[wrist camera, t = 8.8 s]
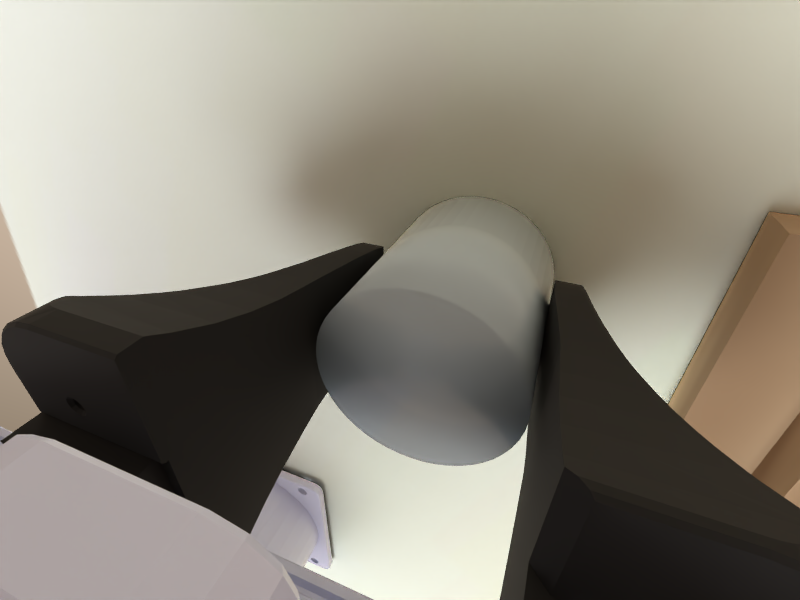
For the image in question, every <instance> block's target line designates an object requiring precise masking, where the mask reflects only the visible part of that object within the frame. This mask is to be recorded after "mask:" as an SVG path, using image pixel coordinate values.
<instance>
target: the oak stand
mask: <svg viewBox="0 0 800 600" xmlns="http://www.w3.org/2000/svg"><path fill="white" fill-rule="evenodd" d="M668 405H669V406H670V407H671V408H672V409H673V410H674V411H675V412H676V413H677V414H678V415H680V416H681V417H682V418H683V419H684V420H685V421H686V422H687V423H688V424H689V425H690V426H692V427H693V428H694V429H695V430H696V431H697V432H698V433H700V434H701V435H702V436H703V437H704V438H706V439H707V440H708V441H709V442H710V443H712V444H713V445H714V446H715V447H716V448H718V449H719V450H720V451H721V452H723V453H724V454H725V455H727V456H728V457H729V458H730V459H732V460H733V461H734V462H736V463H737V464H738V465H740V466H741V467H742V468H743V469H745V470H746V471H747V472H749V473H750V474H751V475H753V476H754V477H755V478H757V479H758V480H760V481H761V482H762V483H764V484H765V485H767V486H768V487H770V488H771V489H773V490H774V491H776V492H777V493H778V494H780V495H781V496H783V497H784V498H786V499H787V500H789V501H790V502H792V503H793V504H795V505H796V506H797V507H799V508H800V216H799V215H791V214H783V213H776V212H769V213H768V215H767V217H766V219H765V221H764V223H763V224H762V226H761V228H760V230H759V232H758V234H757V236H756V238H755V240H754V242H753V243H752V245H751V247H750V249H749V251H748V253H747V255H746V257H745V259H744V261H743V263H742V264H741V266H740V268H739V270H738V272H737V274H736V276H735V278H734V280H733V282H732V284H731V285H730V287H729V289H728V291H727V293H726V295H725V297H724V299H723V301H722V303H721V305H720V306H719V308H718V310H717V312H716V314H715V316H714V318H713V320H712V322H711V324H710V326H709V327H708V329H707V331H706V333H705V335H704V337H703V339H702V341H701V343H700V345H699V347H698V348H697V350H696V352H695V354H694V356H693V358H692V360H691V362H690V364H689V366H688V368H687V369H686V371H685V373H684V375H683V377H682V379H681V381H680V383H679V385H678V387H677V389H676V390H675V392H674V394H673V396H672V398H671V400H670V402H669V404H668Z"/></svg>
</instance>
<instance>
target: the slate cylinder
mask: <svg viewBox="0 0 800 600" xmlns="http://www.w3.org/2000/svg"><path fill="white" fill-rule="evenodd" d="M553 280H554V264H553V258H552V254H551V251H550V248H549V246H548V244H547V242H546V240H545V238H544V236H543V235H542V233H541V232H540V230H539V229H538V228H537V227H536V226H535V225H534V223H533V222H532V221H531V220H529V219H528V218H527V217H526V216H525V215H524V214H522V213H521V212H519V211H518V210H516V209H515V208H513V207H511V206H509V205H507V204H505V203H502V202H499V201H496V200H493V199H489V198H484V197H474V196H469V197H458V198H452V199H449V200H446V201H443V202H440V203H438V204H436V205H434V206H432V207H431V208H429V209H428V210H426V211H425V212H424V213H423V214H422V215H421V216H419V217H418V218H417V219H416V220H415V222H414V223H413V224H412V225H411V226H410V227H409V228H408V229H407V230H406V231H405V232H404V233H403V234H402V235H401V236H400V238H399V239H398V240H397V241H396V242H395V243H394V244H393V245H392V246H391V247H390V248H389V249H388V250H387V251H386V252H385V254H384V255H383V256H382V257H381V258H380V259H379V260H378V261H377V262H376V263H375V264H374V265H373V266H372V267H371V268H370V269H369V271H368V272H367V273H366V274H365V275H364V276H363V277H362V278H361V279H360V280H359V281H358V282H357V283H356V284H355V285H354V287H353V288H352V289H351V290H350V291H349V292H348V293H347V294H346V295H345V296H344V297H343V298H342V299H341V300H340V301H339V303H338V304H337V305H336V306H335V307H334V308H333V309H332V310H331V311H330V312H329V314H328V315H327V316H326V318H325V319H324V321H323V323H322V325H321V327H320V330H319V333H318V336H317V343H316V358H317V364H318V369H319V372H320V375H321V378H322V380H323V383H324V385H325V387H326V389H327V391H328V392H329V394H330V396H331V397H332V399H333V400H334V402H335V403H336V405H337V406H338V407H339V409H340V410H341V411H342V412H343V413H344V414H345V415H346V417H347V418H348V419H349V420H351V421H352V422H353V423H354V424H355V425H356V426H357V427H358V428H359V429H361V430H362V431H363V432H364V433H365V434H367V435H368V436H370V437H371V438H373V439H374V440H376V441H377V442H379V443H381V444H382V445H384V446H386V447H387V448H390V449H392V450H394V451H396V452H398V453H400V454H403V455H405V456H408V457H410V458H414V459H417V460H420V461H424V462H428V463H433V464H440V465H451V466H462V465H473V464H478V463H483V462H486V461H489V460H492V459H494V458H496V457H498V456H500V455H502V454H504V453H505V452H507V451H508V450H509V449H511V448H512V447H513V446H514V445H515V444H516V443H517V442H518V441H519V440H520V438H521V436H522V435H523V433H524V432H525V430H526V427H527V425H528V422H529V418H530V413H531V407H532V401H533V395H534V390H535V384H536V378H537V372H538V367H539V361H540V355H541V349H542V344H543V338H544V332H545V326H546V320H547V314H548V308H549V303H550V298H551V292H552V286H553Z"/></svg>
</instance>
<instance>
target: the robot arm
mask: <svg viewBox="0 0 800 600" xmlns="http://www.w3.org/2000/svg"><path fill="white" fill-rule="evenodd" d="M382 256H383V247H382V246H377V245H372V244H367V243H360V244H355V245H352V246H349V247H345V248H342V249H340V250H337V251H334V252H331V253H328V254H325V255H323V256H320V257H317V258H314V259H311V260H309V261H306V262H303V263H300V264H297V265H293V266H290V267H287V268H284V269H281V270H278V271H275V272H271V273H268V274H264V275H261V276H257V277H253V278H249V279H245V280H240V281H236V282H231V283H226V284H221V285H215V286H208V287H202V288H195V289H189V290H182V291H173V292H163V293H152V294H138V295H116V296H65V297H61V298H58V299H55V300H53V301H51V302H49V303H47V304H45V305H43V306H41V307H39V308H37V309H35V310H33V311H31V312H29V313H27V314H25V315H23V316H21V317H19V318H17V319H15V320H13V321H12V322H9V323H8V324H7V325H6V326H5V327H4V329H3V332H2V346H3V349H4V352H5V355H6V357H7V358H8V360H9V362H10V364H11V366H12V367H13V369H14V371H15V372H16V374H17V375H18V377H19V379H20V380H21V382H22V383H23V385H24V386H25V388H26V390H27V391H28V393H29V394H30V396H31V397H32V399H33V400H34V402H35V404H36V405H37V407H38V408H39V410H40V411H41V413H40V414H39V415H37V416H36V417H35V418H33V419H31V420H30V421H28V422H27V423H26V424H24V425H23V426H21V427H20V428H19V429H17V430H15V431H14V432H11V431H9V430H7V429H5V428H3V427H1V426H0V600H373V599H371V598H369V597H367V596H365V595H362V594H360V593H358V592H356V591H354V590H352V589H349V588H347V587H345V586H343V585H341V584H339V583H337V582H334V581H332V580H330V579H328V578H326V577H324V576H321V575H319V574H317V573H315V572H313V571H311V570H309V569H306V568H304V566H305V564H306V562H307V561H309V562H311V563H313V564H316V565H318V566H320V567H322V568H325V569H328V568H330V566H331V564H332V555H331V548H330V540H329V533H328V525H327V517H326V510H325V502H324V495H323V490H322V488H321V487H320V486H319V485H317V484H315V483H313V482H311V481H308V480H306V479H303V478H301V477H298V476H295V475H293V474H290V473H288V472H285V471H283V470H282V469H283V467H284V465H285V463H286V462H287V460H288V458H289V456H290V454H291V452H292V451H293V449H294V447H295V445H296V443H297V442H298V440H299V438H300V436H301V434H302V433H303V431H304V429H305V428H306V426H307V424H308V422H309V421H310V419H311V417H312V416H313V414H314V412H315V410H316V409H317V407H318V405H319V404H320V403H321V401H322V400H323V398H324V397H325V395H326V394H327V392H328V391H327V389H326V387H325V385H324V383H323V380H322V378H321V375H320V372H319V369H318V364H317V358H316V343H317V336H318V333H319V330H320V327H321V325H322V323H323V321H324V319H325V318H326V316H327V315H328V314H329V312H330V311H331V310H332V309H333V308H334V307H335V306H336V305H337V304H338V303H339V301H340V300H341V299H342V298H343V297H344V296H345V295H346V294H347V293H348V292H349V291H350V290H351V289H352V288H353V287H354V285H355V284H356V283H357V282H358V281H359V280H360V279H361V278H362V277H363V276H364V275H365V274H366V273H367V272H368V271H369V269H370V268H371V267H372V266H373V265H374V264H375V263H376V262H377V261H378V260H379V259H380V258H381V257H382ZM500 600H800V508H799V507H797V506H796V505H795V504H793V503H792V502H790V501H789V500H787V499H786V498H784V497H783V496H781V495H780V494H778V493H777V492H776V491H774V490H773V489H771V488H770V487H768V486H767V485H765V484H764V483H762V482H761V481H760V480H758V479H757V478H755V477H754V476H753V475H751V474H750V473H749V472H747V471H746V470H745V469H743V468H742V467H741V466H740V465H738V464H737V463H736V462H734V461H733V460H732V459H730V458H729V457H728V456H727V455H725V454H724V453H723V452H721V451H720V450H719V449H718V448H716V447H715V446H714V445H713V444H712V443H710V442H709V441H708V440H707V439H706V438H704V437H703V436H702V435H701V434H700V433H698V432H697V431H696V430H695V429H694V428H693V427H692V426H690V425H689V424H688V423H687V422H686V421H685V420H684V419H683V418H682V417H681V416H680V415H678V414H677V413H676V412H675V411H674V410H673V409H672V408H671V407H670V406H669V405H668V404H667V403H666V402H665V401H664V400H663V399H662V398H661V397H660V396H659V395H658V394H657V393H656V392H655V391H654V390H653V389H652V388H651V387H650V386H649V384H648V383H647V382H646V381H645V380H644V379H643V378H642V377H641V376H640V375H639V373H638V372H637V371H636V370H635V369H634V368H633V366H632V365H631V364H630V363H629V361H628V360H627V359H626V357H625V356H624V355H623V353H622V352H621V351H620V349H619V348H618V346H617V345H616V343H615V342H614V340H613V339H612V337H611V336H610V334H609V332H608V331H607V329H606V328H605V326H604V324H603V323H602V321H601V319H600V318H599V316H598V314H597V312H596V310H595V308H594V306H593V304H592V303H591V301H590V299H589V296H588V294H587V292H586V290H585V289H584V287H583V286H582V285H577V284H572V283H566V282H561V281H556V280H555V284H554V288H553V292H552V296H551V300H550V303H549V308H548V314H547V320H546V326H545V332H544V338H543V344H542V349H541V355H540V361H539V367H538V372H537V378H536V384H535V390H534V395H533V401H532V407H531V413H530V418H529V422H528V433H527V446H526V458H525V466H524V474H523V480H522V485H521V491H520V496H519V501H518V507H517V512H516V518H515V523H514V528H513V534H512V539H511V544H510V550H509V555H508V560H507V565H506V570H505V576H504V581H503V586H502V591H501V596H500Z"/></svg>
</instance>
